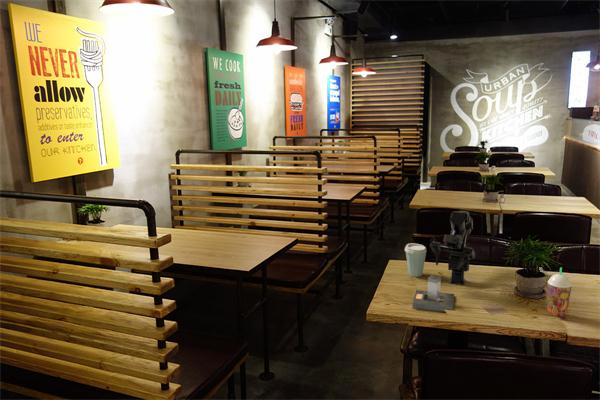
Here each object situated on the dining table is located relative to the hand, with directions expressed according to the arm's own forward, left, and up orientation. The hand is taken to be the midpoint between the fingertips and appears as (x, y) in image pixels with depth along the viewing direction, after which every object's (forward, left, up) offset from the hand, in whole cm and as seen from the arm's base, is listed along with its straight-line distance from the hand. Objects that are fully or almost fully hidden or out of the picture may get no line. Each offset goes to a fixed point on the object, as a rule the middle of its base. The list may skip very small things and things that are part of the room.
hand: (446, 266), depth 205 cm
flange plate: (+10, -4, -14) cm, 17 cm away
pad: (+12, +20, -14) cm, 26 cm away
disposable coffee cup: (-22, -15, -14) cm, 30 cm away
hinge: (-31, +40, -14) cm, 52 cm away
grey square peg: (+10, -4, -14) cm, 17 cm away
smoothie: (+8, +43, -14) cm, 45 cm away
